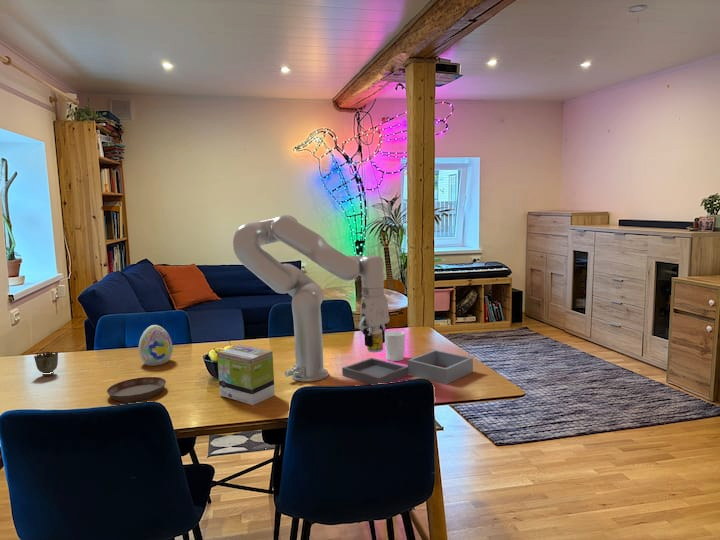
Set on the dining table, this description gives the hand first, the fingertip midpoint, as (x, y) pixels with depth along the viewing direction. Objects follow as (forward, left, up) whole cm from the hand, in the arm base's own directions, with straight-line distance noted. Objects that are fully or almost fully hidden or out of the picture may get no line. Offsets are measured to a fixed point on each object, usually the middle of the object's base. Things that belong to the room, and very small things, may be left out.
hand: (374, 343), depth 174 cm
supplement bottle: (0, 0, -3) cm, 3 cm away
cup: (-76, +93, -11) cm, 121 cm away
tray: (0, 0, -11) cm, 11 cm away
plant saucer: (-62, +48, -12) cm, 80 cm away
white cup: (+19, +7, -11) cm, 23 cm away
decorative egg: (-43, +76, -11) cm, 88 cm away
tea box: (-40, +18, -12) cm, 45 cm away
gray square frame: (+16, -16, -11) cm, 25 cm away
